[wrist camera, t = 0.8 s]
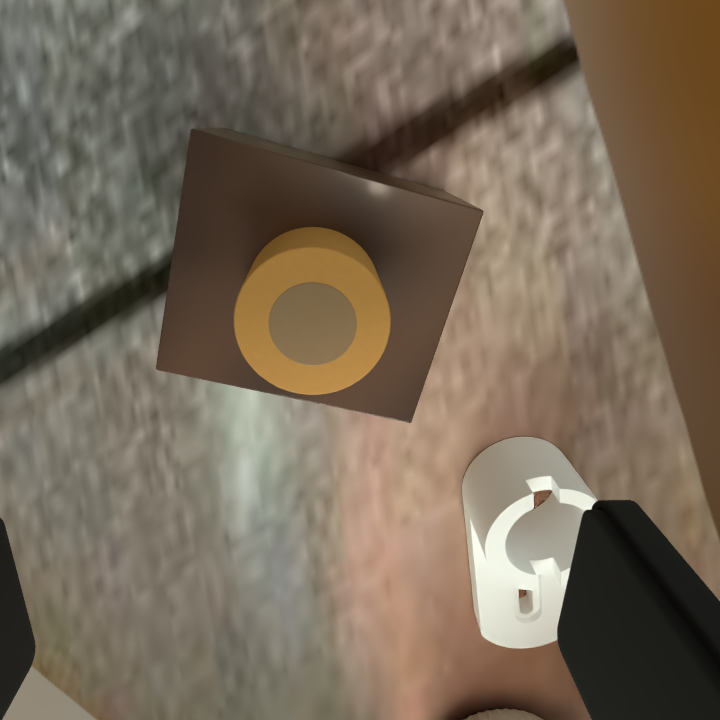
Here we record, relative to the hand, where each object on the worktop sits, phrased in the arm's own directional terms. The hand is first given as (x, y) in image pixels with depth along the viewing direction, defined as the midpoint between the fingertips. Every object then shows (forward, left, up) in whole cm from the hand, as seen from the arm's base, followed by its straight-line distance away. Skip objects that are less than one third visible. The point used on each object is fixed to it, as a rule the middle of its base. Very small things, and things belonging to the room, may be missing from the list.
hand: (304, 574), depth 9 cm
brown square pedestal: (0, -1, -29) cm, 29 cm away
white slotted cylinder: (+22, -20, -29) cm, 42 cm away
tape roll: (0, -1, -20) cm, 20 cm away
